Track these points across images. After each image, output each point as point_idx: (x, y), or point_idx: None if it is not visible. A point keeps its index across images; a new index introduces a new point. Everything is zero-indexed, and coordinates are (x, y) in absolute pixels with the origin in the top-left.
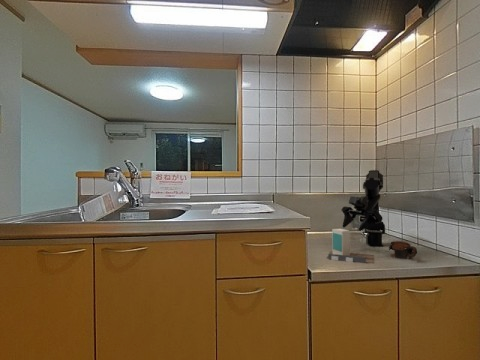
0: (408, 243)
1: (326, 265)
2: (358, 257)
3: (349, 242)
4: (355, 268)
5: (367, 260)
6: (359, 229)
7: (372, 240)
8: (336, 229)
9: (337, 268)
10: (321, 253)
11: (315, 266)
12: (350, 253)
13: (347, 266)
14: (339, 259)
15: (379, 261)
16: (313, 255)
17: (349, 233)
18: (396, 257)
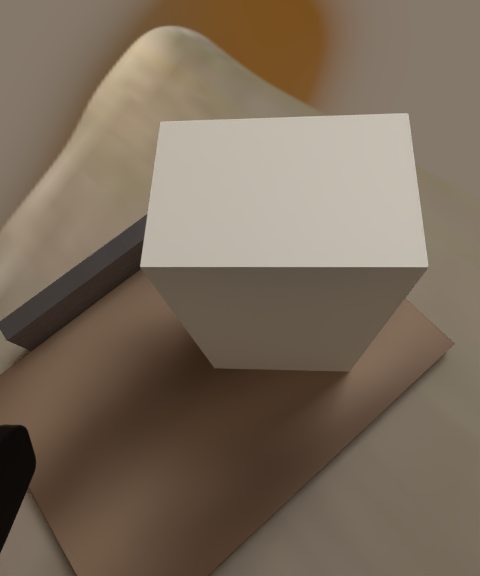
0: None
1: None
2: (48, 288)
3: (187, 326)
4: (44, 235)
5: (52, 408)
6: (1, 435)
7: None
8: (348, 150)
9: (111, 147)
10: (474, 280)
11: (208, 71)
12: (295, 464)
13: (100, 221)
14: None
15: (23, 557)
16: (437, 188)
17: (154, 282)
18: None
